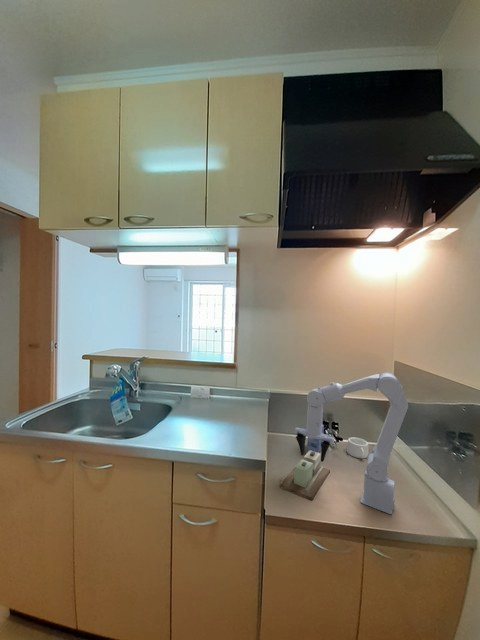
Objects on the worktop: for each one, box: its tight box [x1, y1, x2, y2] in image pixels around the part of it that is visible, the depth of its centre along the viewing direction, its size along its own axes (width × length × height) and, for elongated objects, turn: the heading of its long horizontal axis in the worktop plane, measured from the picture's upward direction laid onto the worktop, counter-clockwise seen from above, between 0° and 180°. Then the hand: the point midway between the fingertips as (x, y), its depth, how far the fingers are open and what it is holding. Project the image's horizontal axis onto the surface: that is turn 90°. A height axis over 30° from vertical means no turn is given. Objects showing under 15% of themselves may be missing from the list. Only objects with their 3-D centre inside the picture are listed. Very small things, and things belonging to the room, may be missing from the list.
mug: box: [346, 436, 370, 459], centre depth 128 cm, size 12×10×6 cm
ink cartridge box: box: [305, 423, 325, 455], centre depth 128 cm, size 10×6×14 cm, turn 152°
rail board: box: [279, 450, 331, 501], centre depth 106 cm, size 12×22×8 cm, turn 147°
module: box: [294, 459, 313, 488], centre depth 103 cm, size 4×7×7 cm, turn 147°
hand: (312, 457), depth 104 cm, fingers open, 7 cm apart
